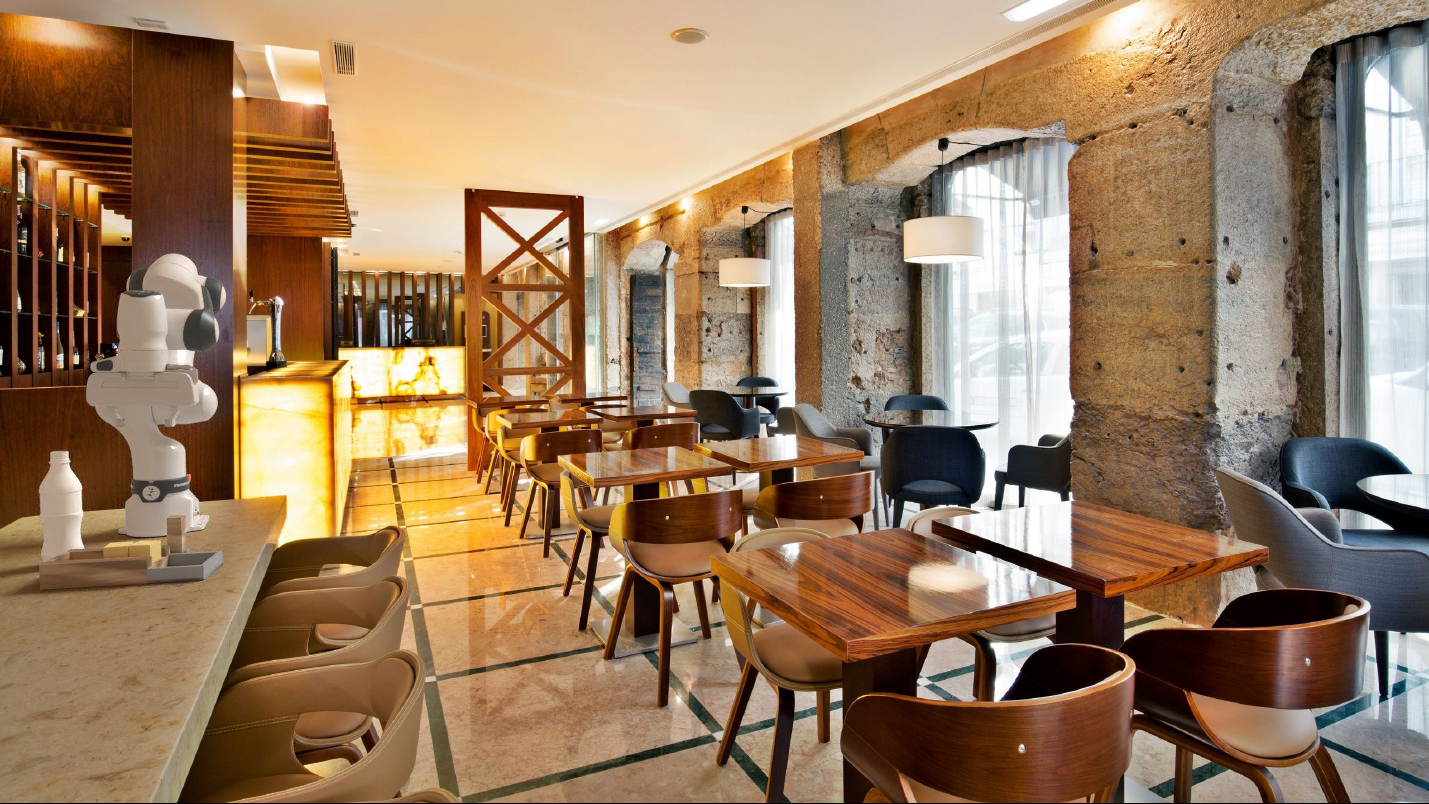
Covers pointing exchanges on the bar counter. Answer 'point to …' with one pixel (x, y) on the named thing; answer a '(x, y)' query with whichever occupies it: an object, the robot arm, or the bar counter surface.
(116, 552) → the pale yellow block
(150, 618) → the bar counter surface
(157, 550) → the pale yellow cube
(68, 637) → the bar counter surface
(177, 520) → the wooden post on base
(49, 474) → the water bottle
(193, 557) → the tray
